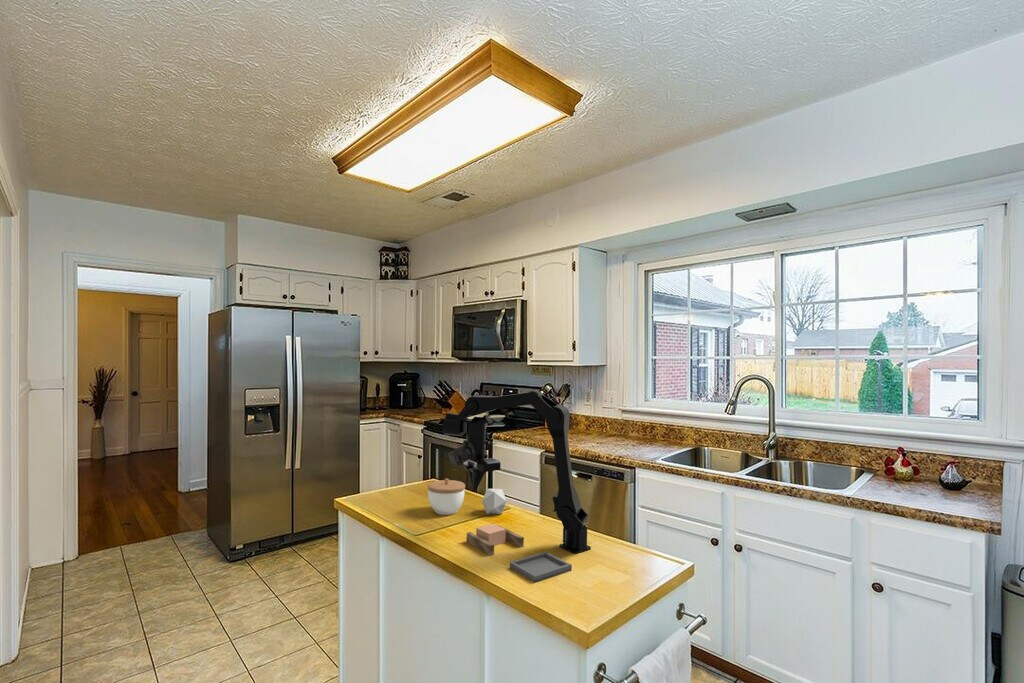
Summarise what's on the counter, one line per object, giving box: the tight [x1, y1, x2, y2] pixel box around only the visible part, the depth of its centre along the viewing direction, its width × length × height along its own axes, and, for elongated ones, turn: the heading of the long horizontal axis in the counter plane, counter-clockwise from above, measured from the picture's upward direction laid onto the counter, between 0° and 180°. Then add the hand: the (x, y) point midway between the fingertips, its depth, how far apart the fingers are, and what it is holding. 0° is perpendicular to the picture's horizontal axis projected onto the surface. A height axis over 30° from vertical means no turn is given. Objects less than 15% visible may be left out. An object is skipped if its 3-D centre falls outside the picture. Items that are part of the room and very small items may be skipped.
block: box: [475, 523, 507, 547], centre depth 145 cm, size 6×6×4 cm
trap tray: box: [509, 551, 573, 583], centre depth 127 cm, size 10×12×1 cm
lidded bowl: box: [427, 478, 466, 516], centre depth 171 cm, size 13×13×11 cm
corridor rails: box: [466, 525, 525, 556], centre depth 143 cm, size 12×11×2 cm
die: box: [482, 488, 507, 515], centre depth 171 cm, size 8×9×10 cm
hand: (474, 489), depth 152 cm, fingers closed
